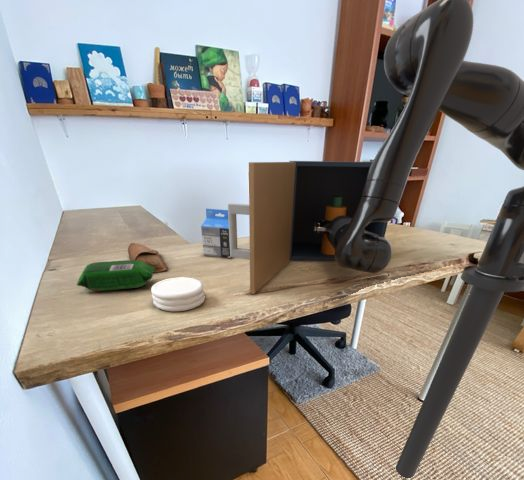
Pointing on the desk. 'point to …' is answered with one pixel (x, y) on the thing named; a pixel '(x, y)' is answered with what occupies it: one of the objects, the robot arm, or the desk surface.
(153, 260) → the sunglasses case
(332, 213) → the juice bottle
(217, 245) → the tape cartridge
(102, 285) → the snack package
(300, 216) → the box
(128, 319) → the desk surface
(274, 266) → the fridge door
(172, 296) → the coaster
